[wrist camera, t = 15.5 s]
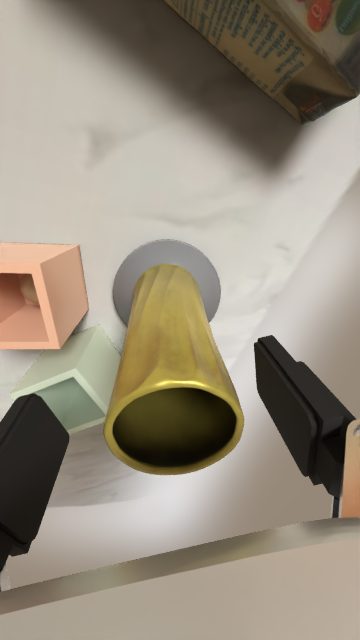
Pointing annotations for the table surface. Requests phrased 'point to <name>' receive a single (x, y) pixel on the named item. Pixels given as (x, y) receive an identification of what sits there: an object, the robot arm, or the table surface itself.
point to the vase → (171, 382)
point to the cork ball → (28, 288)
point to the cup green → (75, 379)
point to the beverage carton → (287, 47)
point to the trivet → (166, 254)
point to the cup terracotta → (40, 295)
